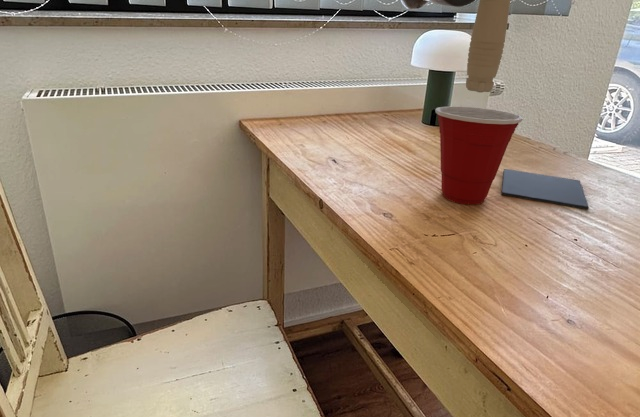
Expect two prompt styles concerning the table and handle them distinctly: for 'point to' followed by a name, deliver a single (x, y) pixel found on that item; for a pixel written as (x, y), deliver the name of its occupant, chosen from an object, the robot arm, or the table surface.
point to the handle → (487, 44)
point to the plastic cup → (472, 150)
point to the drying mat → (543, 188)
